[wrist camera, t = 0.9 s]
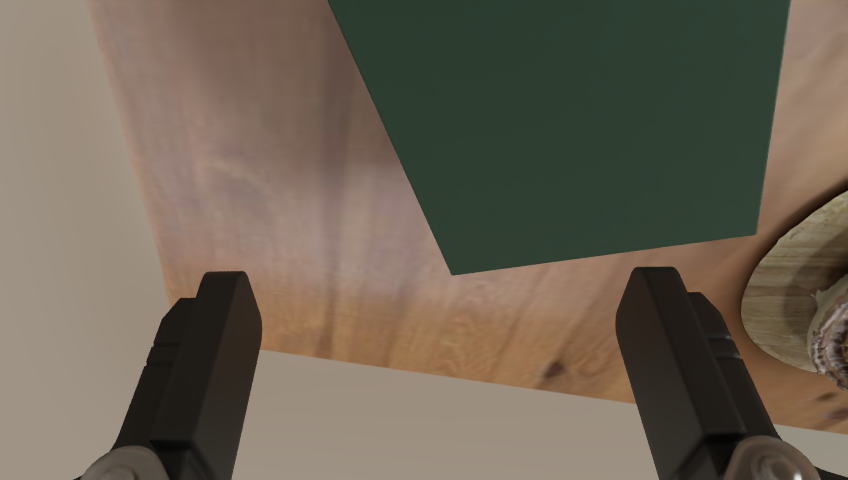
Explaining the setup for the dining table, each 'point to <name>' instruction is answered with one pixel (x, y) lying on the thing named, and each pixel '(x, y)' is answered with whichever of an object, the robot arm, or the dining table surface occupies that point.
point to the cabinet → (574, 119)
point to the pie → (804, 295)
